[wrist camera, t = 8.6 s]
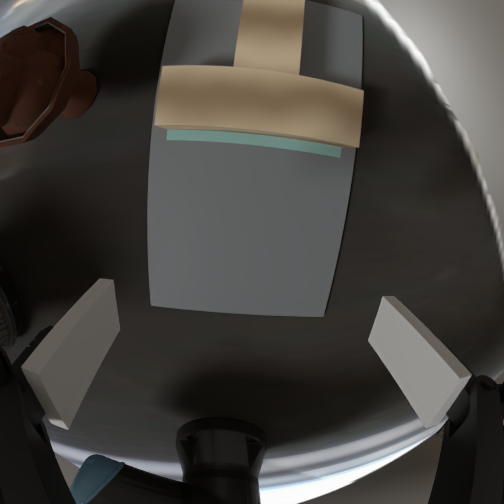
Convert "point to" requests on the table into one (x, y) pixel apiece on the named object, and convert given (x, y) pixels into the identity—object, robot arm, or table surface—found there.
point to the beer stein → (8, 313)
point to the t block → (262, 86)
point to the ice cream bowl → (40, 80)
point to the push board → (249, 182)
